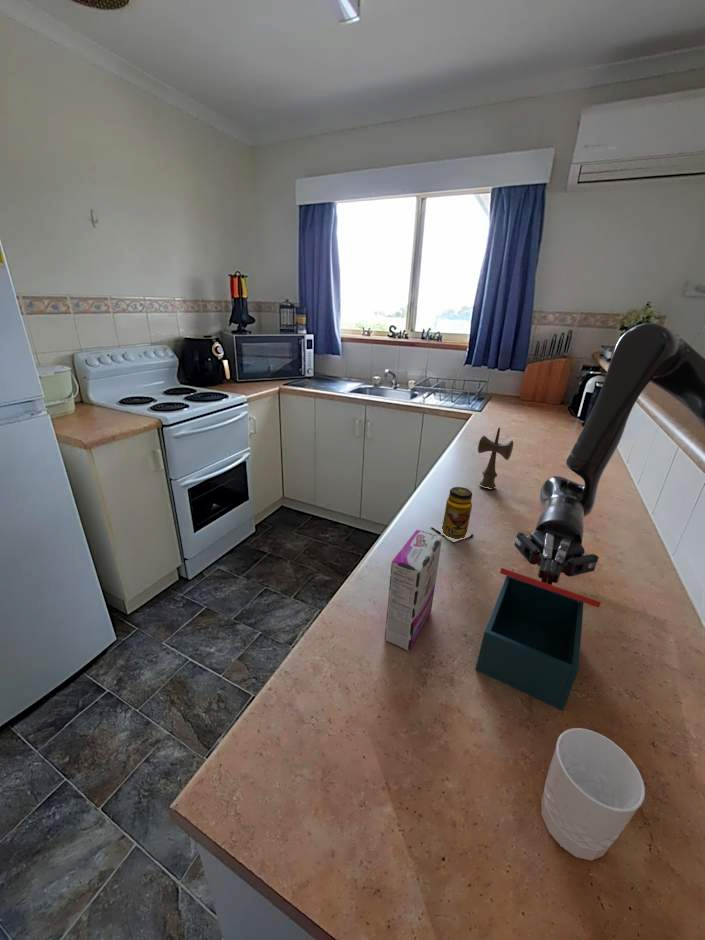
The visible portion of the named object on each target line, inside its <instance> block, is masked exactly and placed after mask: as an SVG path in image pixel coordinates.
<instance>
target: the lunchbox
mask: <svg viewBox="0 0 705 940" xmlns="http://www.w3.org/2000/svg"><path fill="white" fill-rule="evenodd" d="M584 604H585V603H584V602H581V601H578V600H575V599H572V598H569V597H566V596H564V595H561V594H558V593H555V592H552V591H549V590H547V589H544V588H541V587H538V586H535V585H532V584H529V583H527V582H524V581H521V580H518V579H515V578H512V577H510V576H507V575H505V578H504V580H503V583H502V585H501V589H500V590H499V593H498V596H497V598H496V601H495V603H494V606H493V609H492V611H491V614H490V617H489V619H488V621H487V624H486V627H485V629H484V632H483V636H482V641H481V645H480V649H479V653H478V657H477V662H476V666H475V670H476V671H478V672H480V673H482V674H484V675H487V676H488V677H491V678H492V679H495V680H497V681H499V682H501V683H503V684H506V685H508V686H509V687H512V688H514V689H516V690H518V691H520V692H523V693H525V694H526V695H528V696H531V697H533V698H535V699H537V700H540V701H541V702H544V703H546V704H547V705H550V706H553V707H554V708H557V709H559V710H561V711H565V708H566V706H567V705H566V704H567V702H568V700H569V697H570V694H571V691H572V689H573V687H574V684H575V681H576V678H577V676H578V673H579V667H580V654H581V641H582V629H583V628H582V627H583V616H584Z"/></svg>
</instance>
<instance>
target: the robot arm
mask: <svg viewBox="0 0 705 940" xmlns="http://www.w3.org/2000/svg"><path fill="white" fill-rule="evenodd" d="M606 371H607V372H606V374H605V377H604V381H603V383H602V386H601V388H600V391H599V393H598V396H597V399H596V400H595V402H594V405H593V407H592V410H591V411H590V414H589V416H588V418H587V420H586V422H585V424H584V426H583V428H582V429H581V431H580V433H579V435H578V437H577V439H576V441H575V443H574V445H573V446H572V448H571V450H570V452H569V454H568V456H567V458H566V461H565V466H566V467H567V468H568V470H570V471H571V472H572V473H574V474H576V475H577V476H578V477H580V478H581V479H582V480H583V482H584V484H581V483H579V482H575V481H574V480H571V479H568V478H566V477H563V476H560V475H554V476H550V477H549V478H547V479H546V480H545V481H544V482H543V484H542V486H541V487H540V493H539V501H540V505H541V507H542V509H543V511H542V512H541V513H540V515H539V518H538V521H537V523H536V526H535V530H534V531H533V532H530V534H529V535H526V534H525V533H523V532H520V531H518V532H517V533H516V535H515V540H514V547H515V548H516V549H517V551H518V552H519V553H520V554H521V556H523V557H524V559H525V560H526V561H527V562H528V563H529V564H530V565H535V566H536V565H537V566H538V567H539V568H538V572H537V577H538V578H540V579H541V580H540V581H541V582H544V583H547V584H550V585H553V584H557V583H558V582H559V580H560V577H561V574H564V575H565V576H566V577H569V578H570V577H575V576H580V575H583V574H587V573H592V572H595V571H596V567H597V564H598V562H599V559H600V556H598V555H597V554H594V553H591V554H587V553H586V552H585V551H586V549H585V547H584V546H583V539H584V538H583V537H584V530H585V525H584V523H585V522H584V518H585V517H587V516H589V515H590V514H591V513H592V511H593V510H594V507H595V504H596V498H597V492H598V488H599V484H600V480H601V478H602V475H603V473H604V471H605V469H606V467H607V466H608V464H609V462H610V460H611V459H612V457H613V455H614V453H615V452H616V451H617V448H618V446H619V444H620V442H621V439H622V438H623V434H624V432H625V428H626V425H627V423H628V420H629V417H630V416H631V415H630V414H631V412H632V410H633V408H634V406H635V404H636V403H637V401H638V399H639V397H640V396H641V394H642V393H643V391H644V390H645V388H646V387H647V386H648V384H649V383H651V384H652V385H654V386H656V387H658V388H659V389H661V391H664V392H665V393H667V394H668V395H670V397H673V398H674V399H675V400H676V401H677V402H678V403H680V405H682V406H683V407H684V409H685V410H686V411H687V412H688V414H690V416H691V417H692V418H693V419H694V421H695V422H696V423H697V424H698V425H699V426H700V427H701V428H702V429H703V431H705V357H704V356H703V355H702V354H700V353H699V352H698V351H697V350H696V349H694V348H693V347H692V346H691V345H690V344H689V342H687V341H686V340H685V339H684V338H683V337H682V336H681V335H680V334H679V333H678V332H677V331H676V330H674V329H672V328H670V327H668V326H666V325H663V324H661V323H656V322H644V323H641V324H640V323H639V324H637V325H635V326H632V327H631V328H629V329H628V330H627V331H625V332H624V333H623V334H622V335H621V336H620V338H619V339H618V341H617V342H616V344H615V348H614V350H613V353H612V356H611V359H610V362H609V365H608V368H607V370H606Z"/></svg>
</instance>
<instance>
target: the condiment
mask: <svg viewBox="0 0 705 940" xmlns="http://www.w3.org/2000/svg"><path fill="white" fill-rule="evenodd" d="M472 496H473V492H472V491H471V490H470V489H468V488H466V487H463V486H454V487H452V488H450V490H449V494H448V497H447V499H446V503H445V509H444V515H443V520H442V521H443V522H442V523H443V526H442V529H443V533H444V534H445V535H446V536H448V537H451V538H454V539H460V538H464V537H465V535H466V533H467V531H468V528H469V523H470V518H471V514H472V507H473V503H472V501H473V500H472V498H473V497H472Z"/></svg>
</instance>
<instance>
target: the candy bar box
mask: <svg viewBox="0 0 705 940" xmlns="http://www.w3.org/2000/svg"><path fill="white" fill-rule="evenodd" d="M442 542H443V536H439V535H436V534H432V533H430V532H425V531H424V530H420V529H416V530H415V531H414V533H413V534H412V535H411V536H410V538H409V539H408V540H407V541H406V543H405V544H404V545H403V547H402V548H401V549H400V550H399V551H398V553H397V554H396V556H395V557H394V558H393V559H392V560H391V563H390V564H391V565H390V577H389V588H388V600H387V609H386V621H385V630H384V641H385V642H388V643H389V644H392V645H394V646H397V647H398V648H401V649H403V650H405V651H407V652H411V650H412V649H413V646H414V644H415V642H416V641H417V639H418V637H419V635H420V633H421V631H422V630H423V627H424V626H425V624H426V622H427V620H428V618H429V616H430V615H431V613H432V608H433V602H434V601H433V600H434V595H435V588H436V583H437V582H436V581H437V574H438V568H439V560H440V554H441V546H442Z"/></svg>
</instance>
